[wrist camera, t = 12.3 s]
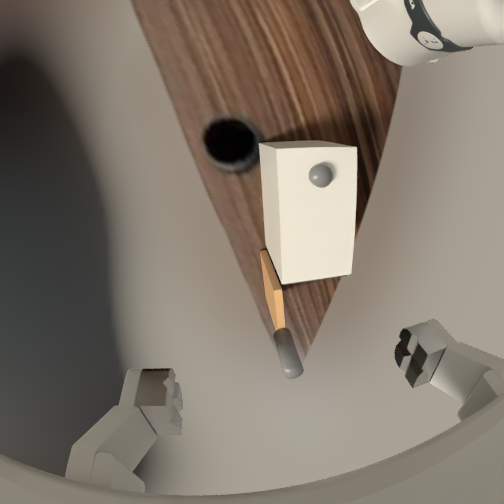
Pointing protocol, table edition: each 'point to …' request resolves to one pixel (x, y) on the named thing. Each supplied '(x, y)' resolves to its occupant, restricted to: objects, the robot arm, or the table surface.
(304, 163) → the camera case
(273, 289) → the wooden flat board
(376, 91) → the table surface
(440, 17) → the robot arm
